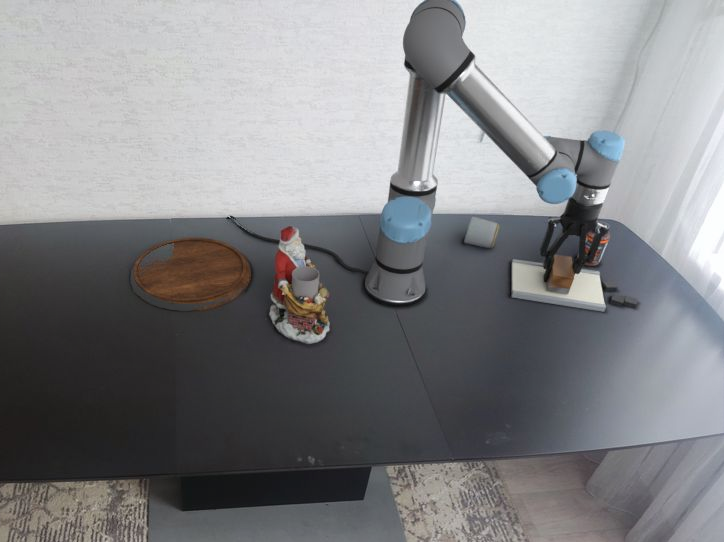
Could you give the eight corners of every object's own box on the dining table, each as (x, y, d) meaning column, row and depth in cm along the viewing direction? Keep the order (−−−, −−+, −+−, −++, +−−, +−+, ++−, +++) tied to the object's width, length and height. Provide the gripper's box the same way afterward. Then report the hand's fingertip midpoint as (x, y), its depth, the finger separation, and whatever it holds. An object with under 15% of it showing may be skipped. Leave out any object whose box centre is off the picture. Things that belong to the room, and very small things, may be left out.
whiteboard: (511, 297, 167) (512, 292, 166) (511, 263, 179) (512, 258, 178) (604, 311, 162) (606, 307, 161) (597, 275, 174) (599, 271, 173)
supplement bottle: (575, 264, 178) (589, 227, 171) (576, 253, 183) (589, 217, 175) (599, 269, 177) (614, 232, 169) (599, 257, 181) (613, 221, 173)
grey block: (609, 303, 165) (611, 299, 164) (611, 297, 167) (613, 293, 166) (621, 306, 164) (623, 302, 163) (623, 301, 166) (625, 297, 165)
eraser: (547, 291, 167) (553, 274, 163) (545, 270, 174) (551, 253, 171) (568, 294, 165) (574, 277, 162) (565, 273, 173) (571, 256, 170)
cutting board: (121, 254, 183) (119, 246, 181) (231, 235, 190) (231, 227, 188) (142, 322, 160) (140, 313, 158) (267, 297, 167) (267, 289, 165)
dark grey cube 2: (605, 291, 169) (606, 287, 168) (600, 284, 171) (602, 281, 170) (615, 291, 169) (617, 287, 168) (611, 284, 171) (613, 281, 170)
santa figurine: (336, 344, 153) (344, 252, 137) (276, 349, 152) (278, 257, 135) (321, 301, 166) (327, 213, 149) (266, 306, 164) (266, 217, 148)
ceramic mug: (492, 253, 182) (498, 229, 177) (462, 247, 185) (467, 223, 180) (496, 236, 190) (503, 212, 185) (467, 230, 192) (473, 206, 187)
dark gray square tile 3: (622, 304, 164) (624, 300, 164) (624, 299, 166) (626, 295, 166) (634, 308, 163) (636, 304, 163) (636, 302, 165) (638, 298, 164)
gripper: (546, 201, 154) (520, 283, 169) (630, 212, 150) (595, 295, 165) (545, 187, 159) (520, 267, 174) (625, 197, 155) (592, 278, 170)
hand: (556, 280), depth 170 cm, fingers closed on eraser, 5 cm apart
